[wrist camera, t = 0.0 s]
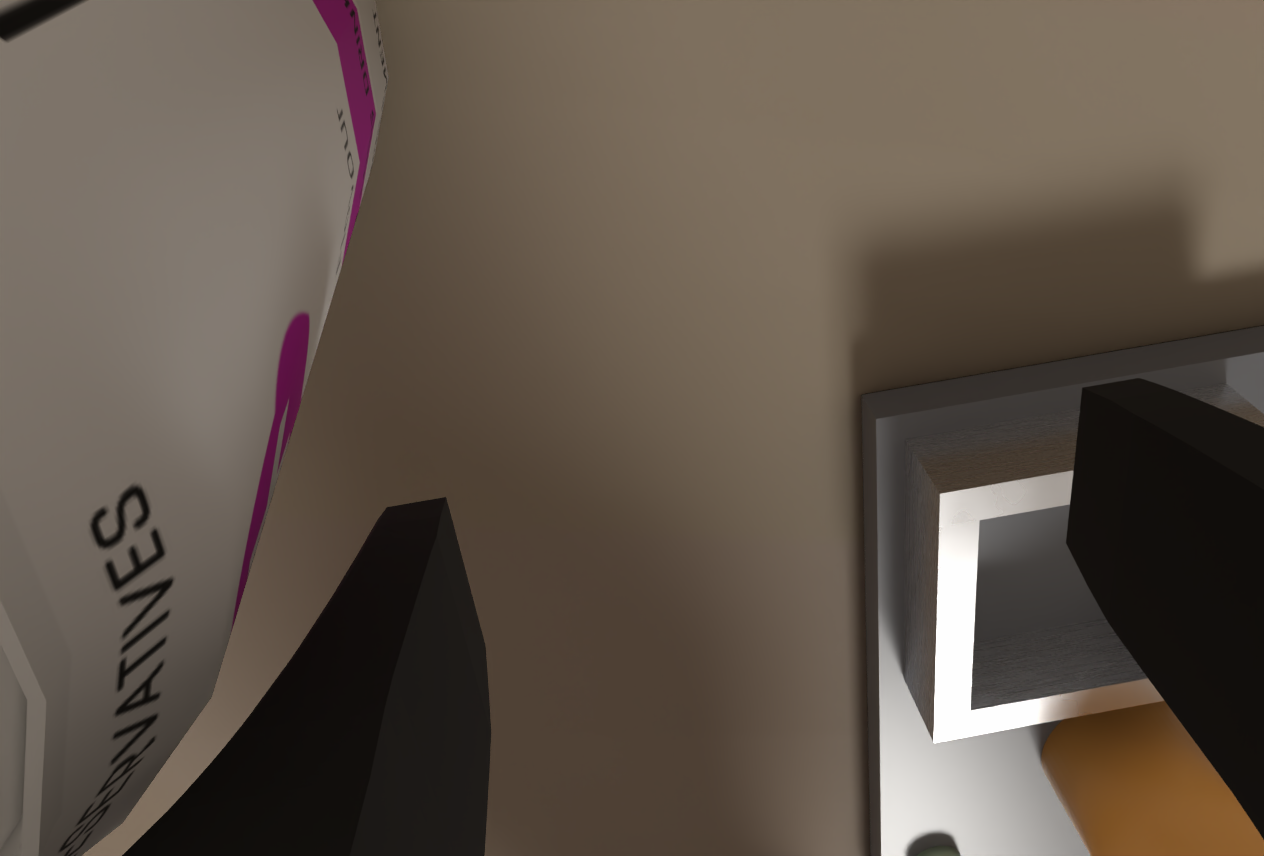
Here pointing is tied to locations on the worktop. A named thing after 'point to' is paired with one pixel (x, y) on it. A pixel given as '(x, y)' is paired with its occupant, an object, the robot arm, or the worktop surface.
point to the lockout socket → (947, 574)
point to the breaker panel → (992, 600)
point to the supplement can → (153, 358)
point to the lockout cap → (1144, 787)
